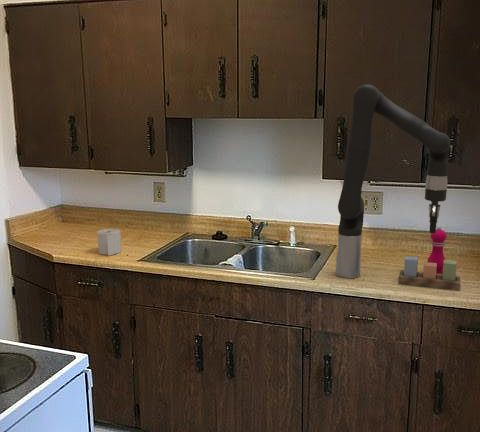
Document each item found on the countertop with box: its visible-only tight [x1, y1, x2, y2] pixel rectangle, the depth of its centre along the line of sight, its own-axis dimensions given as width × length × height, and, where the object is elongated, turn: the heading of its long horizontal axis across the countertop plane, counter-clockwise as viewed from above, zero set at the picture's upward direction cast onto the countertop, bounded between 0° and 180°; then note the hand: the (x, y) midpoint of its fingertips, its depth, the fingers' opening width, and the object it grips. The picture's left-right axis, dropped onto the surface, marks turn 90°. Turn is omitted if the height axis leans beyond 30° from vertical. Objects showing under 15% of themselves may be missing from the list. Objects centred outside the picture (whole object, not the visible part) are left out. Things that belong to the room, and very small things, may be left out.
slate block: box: [403, 256, 419, 277], centre depth 211 cm, size 5×5×7 cm
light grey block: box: [96, 228, 122, 257], centre depth 255 cm, size 11×12×10 cm
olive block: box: [442, 259, 458, 281], centre depth 206 cm, size 5×5×7 cm
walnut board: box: [397, 269, 461, 292], centre depth 209 cm, size 22×9×3 cm, turn 68°
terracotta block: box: [422, 261, 437, 279], centre depth 208 cm, size 5×5×7 cm
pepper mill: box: [426, 225, 447, 274], centre depth 219 cm, size 7×7×20 cm
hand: (432, 232), depth 205 cm, fingers closed
